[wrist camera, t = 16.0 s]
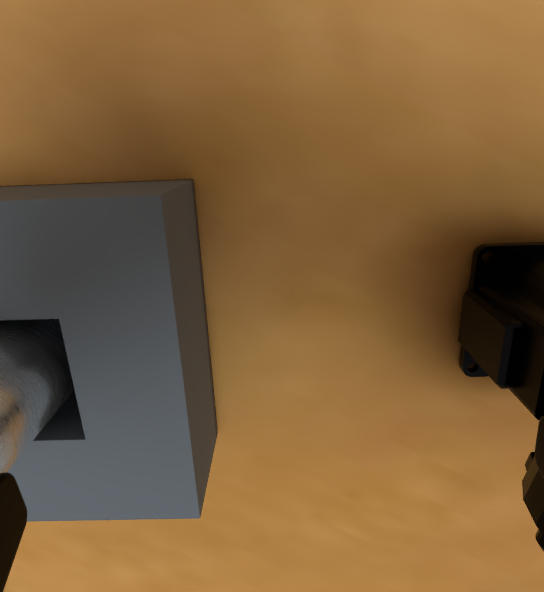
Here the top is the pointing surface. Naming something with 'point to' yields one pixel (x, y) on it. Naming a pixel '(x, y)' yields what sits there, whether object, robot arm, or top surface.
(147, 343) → the slate socket block
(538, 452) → the robot arm
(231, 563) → the top surface
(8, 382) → the aluminium peg
